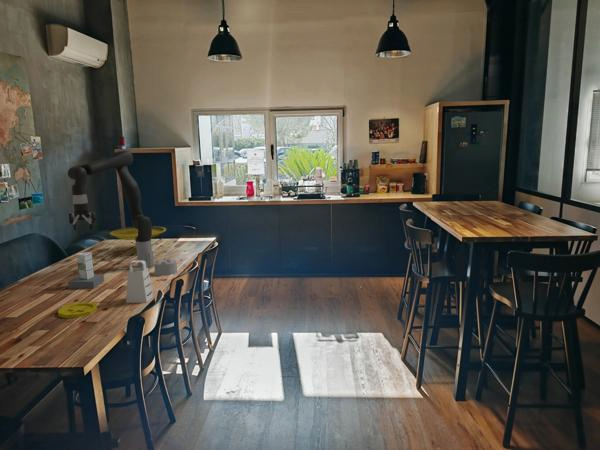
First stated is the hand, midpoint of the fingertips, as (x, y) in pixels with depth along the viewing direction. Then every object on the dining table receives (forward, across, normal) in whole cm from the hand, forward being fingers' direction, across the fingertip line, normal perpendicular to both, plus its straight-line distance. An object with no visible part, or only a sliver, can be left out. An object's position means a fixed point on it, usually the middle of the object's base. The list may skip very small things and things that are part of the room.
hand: (83, 230), depth 268 cm
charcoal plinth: (+30, -1, +7) cm, 31 cm away
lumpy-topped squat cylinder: (+31, -41, -14) cm, 53 cm away
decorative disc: (+30, -15, +50) cm, 61 cm away
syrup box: (+26, -1, +7) cm, 27 cm away
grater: (+31, -40, +34) cm, 60 cm away
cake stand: (+32, -5, -77) cm, 83 cm away
